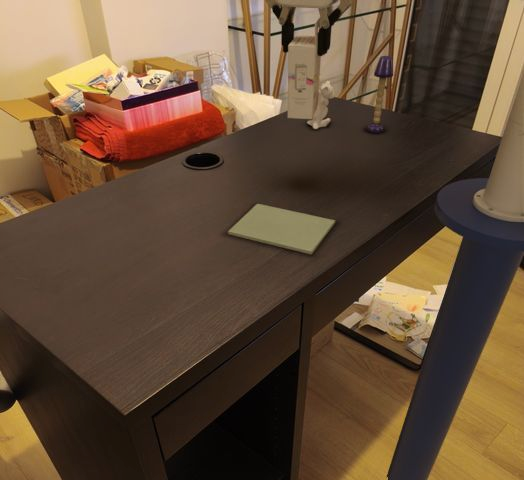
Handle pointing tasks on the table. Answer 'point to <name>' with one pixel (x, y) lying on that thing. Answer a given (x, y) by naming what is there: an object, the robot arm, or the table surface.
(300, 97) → the ink cartridge box
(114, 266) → the table surface
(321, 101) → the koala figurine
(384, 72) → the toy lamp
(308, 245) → the mat
